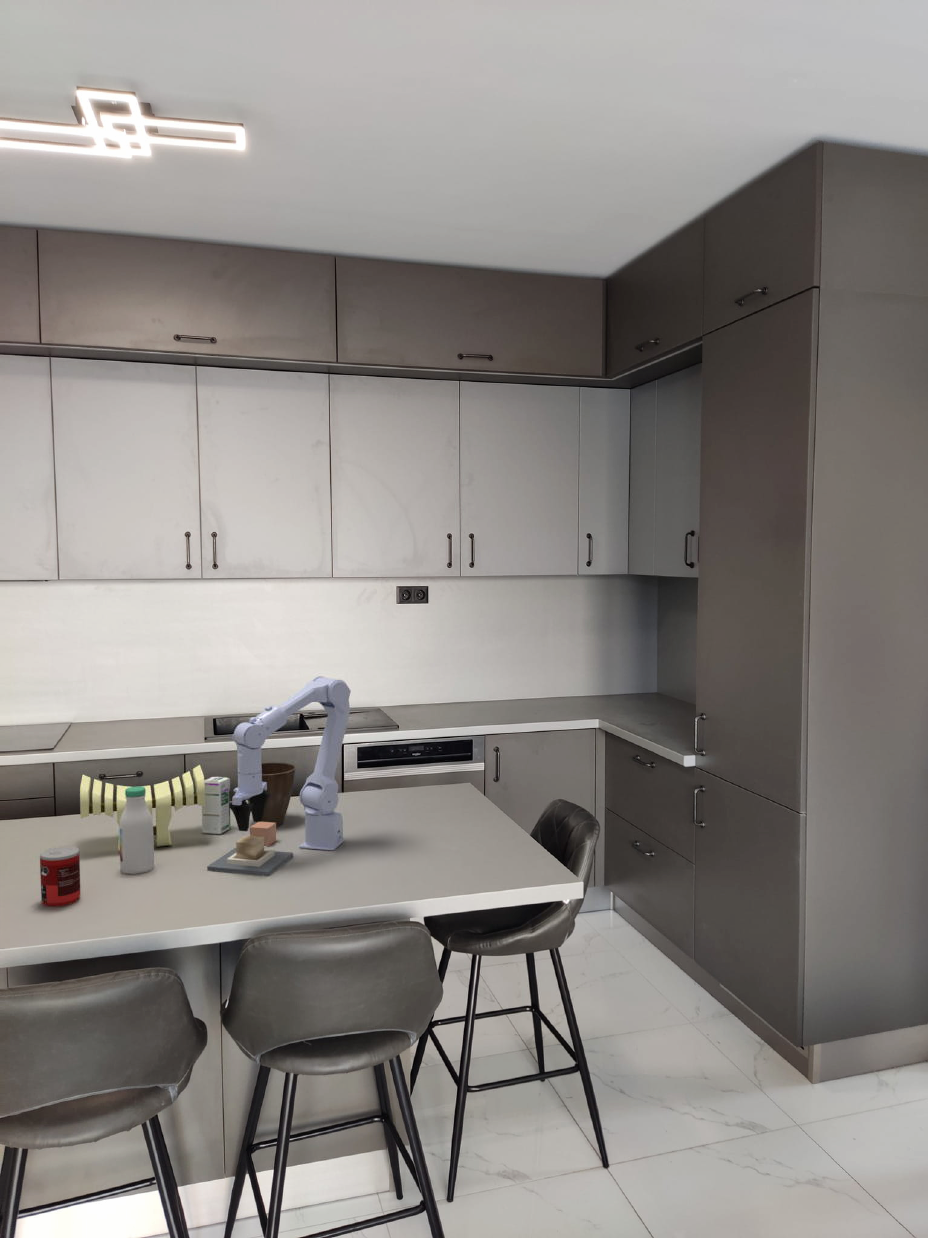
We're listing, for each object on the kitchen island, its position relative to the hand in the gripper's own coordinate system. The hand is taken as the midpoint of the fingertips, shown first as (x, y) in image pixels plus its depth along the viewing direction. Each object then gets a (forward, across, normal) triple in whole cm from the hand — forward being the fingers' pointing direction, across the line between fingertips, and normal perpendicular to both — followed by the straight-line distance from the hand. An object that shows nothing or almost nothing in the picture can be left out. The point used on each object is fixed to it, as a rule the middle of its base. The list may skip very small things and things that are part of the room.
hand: (250, 826), depth 216 cm
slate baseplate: (+9, 0, 0) cm, 9 cm away
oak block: (+8, 0, 0) cm, 8 cm away
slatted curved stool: (+10, -8, -35) cm, 37 cm away
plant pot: (+10, -31, -10) cm, 34 cm away
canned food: (+10, +31, -30) cm, 44 cm away
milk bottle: (+10, +10, -25) cm, 29 cm away
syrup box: (+9, -21, -21) cm, 31 cm away
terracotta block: (+10, -15, -4) cm, 18 cm away
